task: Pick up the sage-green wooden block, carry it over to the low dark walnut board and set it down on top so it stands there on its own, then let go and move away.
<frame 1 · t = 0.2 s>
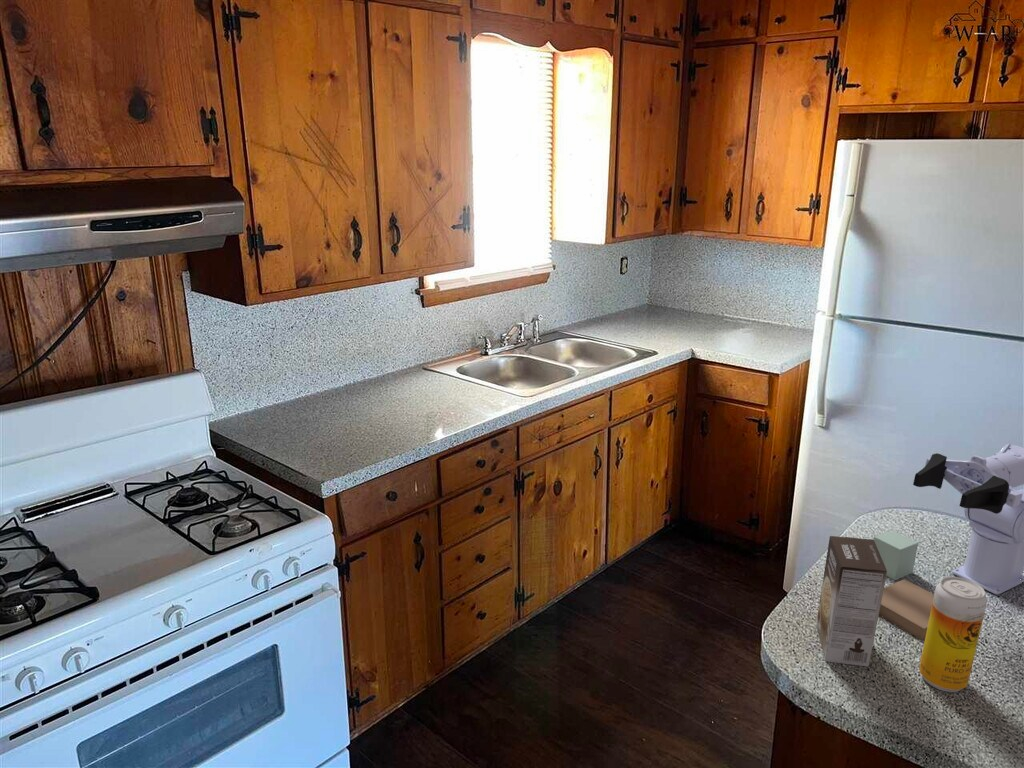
hand: (939, 490, 118), 21 cm above the countertop, tool horizontal, fingers open, 7 cm apart
beer can: (942, 681, 108), on the countertop
sage block: (890, 569, 136), on the countertop
coffee box: (841, 647, 115), on the countertop
walnut board: (911, 616, 124), on the countertop
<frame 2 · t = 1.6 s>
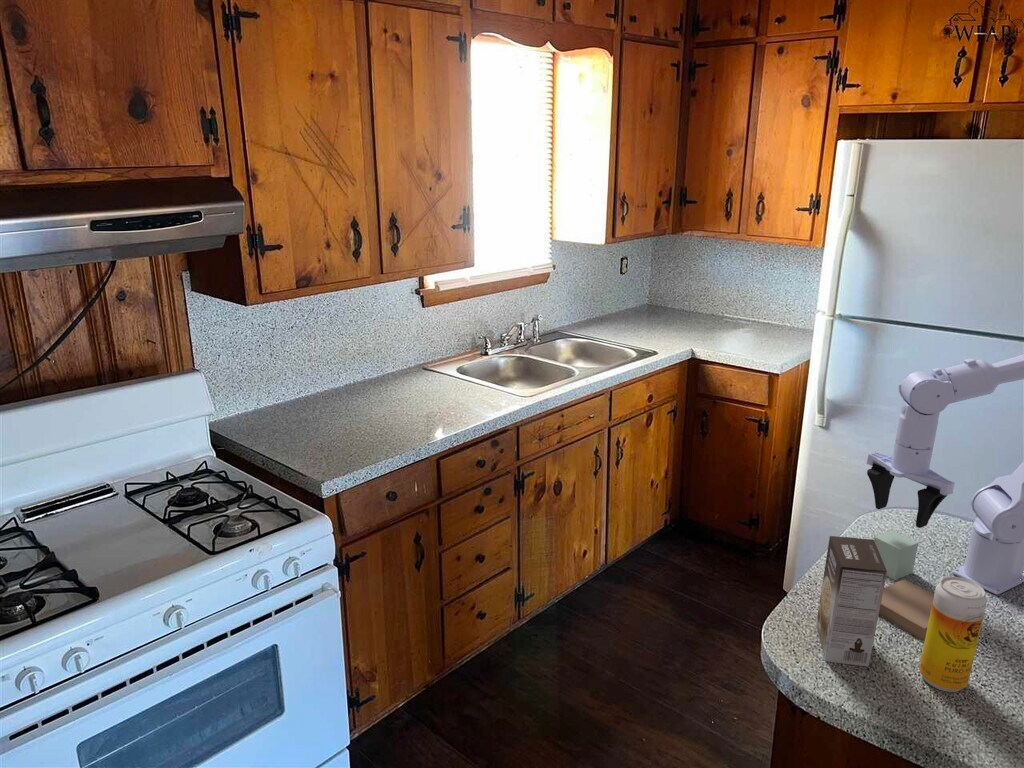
hand: (900, 516, 133), 10 cm above the countertop, tool pointing down, fingers open, 7 cm apart
nothing on the countertop moved.
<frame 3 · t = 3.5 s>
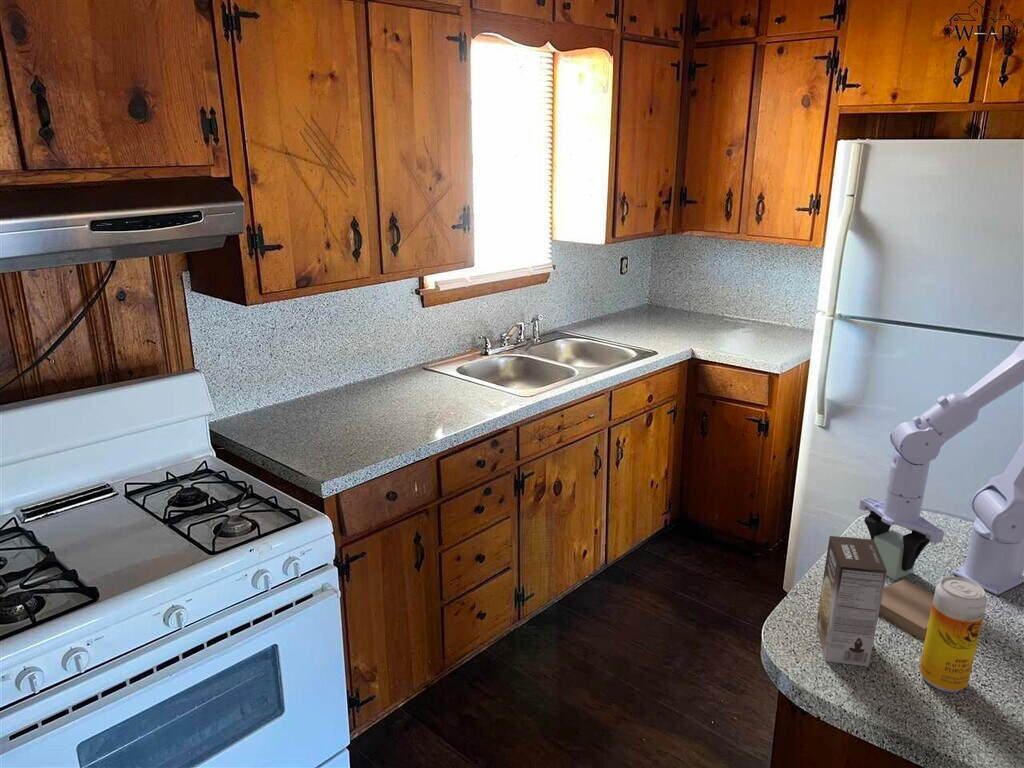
hand: (892, 561, 135), 2 cm above the countertop, tool pointing down, fingers closed on sage block, 5 cm apart
sage block: (890, 569, 136), on the countertop, touching gripper
everything else where it was.
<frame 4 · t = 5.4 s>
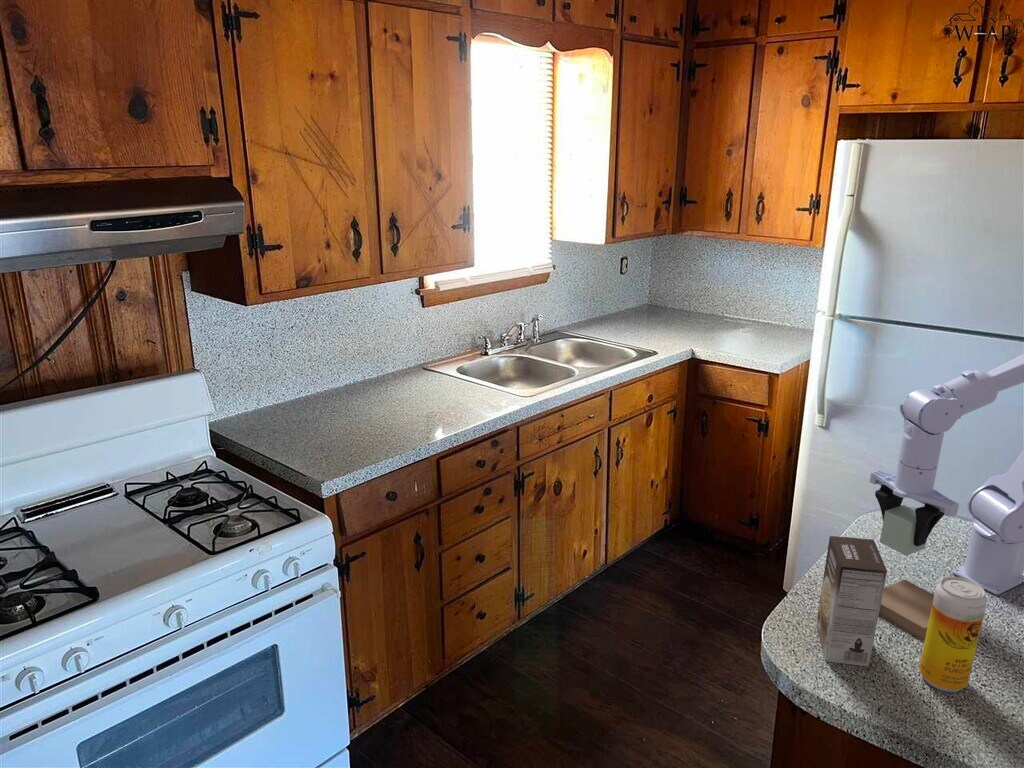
hand: (903, 536, 130), 8 cm above the countertop, tool pointing down, fingers closed on sage block, 5 cm apart
sage block: (902, 545, 131), point 7 cm above the countertop, touching gripper
everything else where it was.
when the fingers open (5 cm above the countertop, at t = 7.8 s): sage block drops 2 cm, resting on walnut board.
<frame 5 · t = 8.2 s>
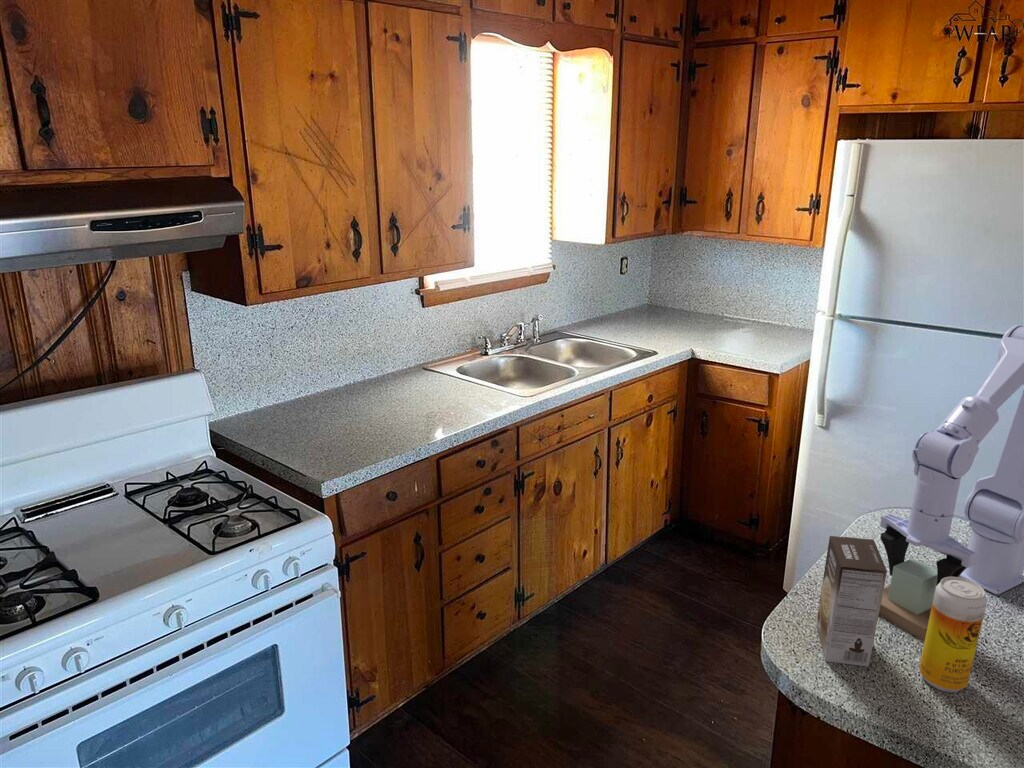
hand: (917, 585, 122), 5 cm above the countertop, tool pointing down, fingers open, 7 cm apart
sage block: (911, 602, 123), point 2 cm above the countertop, touching walnut board
walnut board: (911, 616, 124), on the countertop, touching sage block
everything else where it was.
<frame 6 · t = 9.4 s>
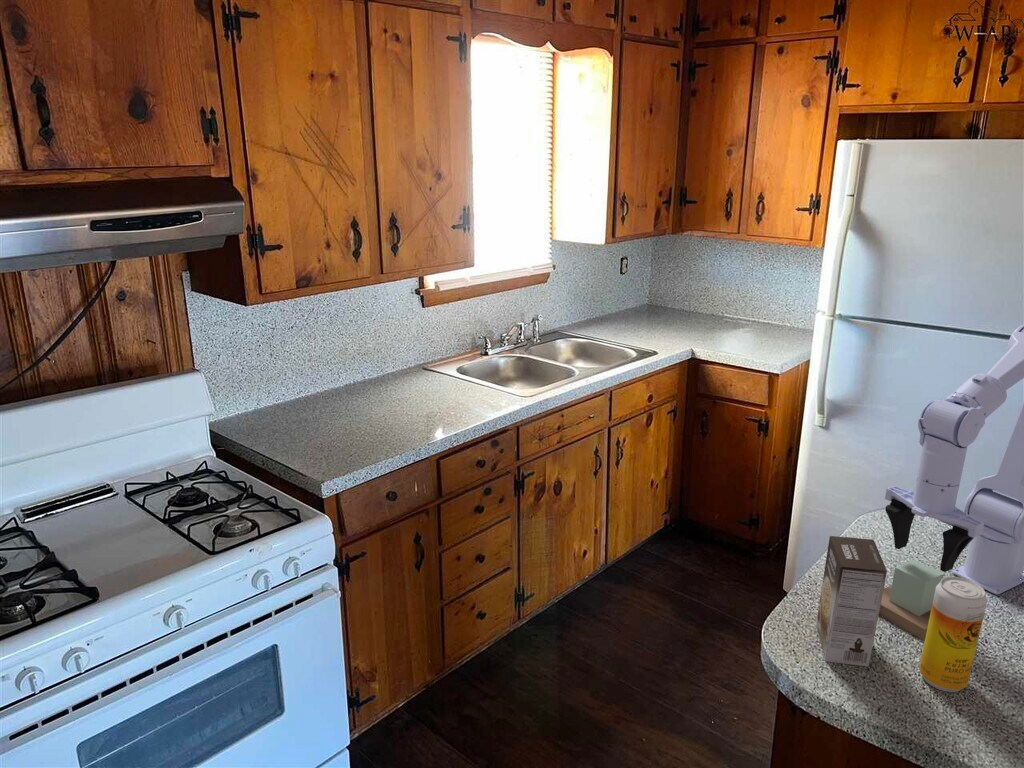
hand: (922, 557, 120), 10 cm above the countertop, tool pointing down, fingers open, 7 cm apart
sage block: (912, 603, 123), point 2 cm above the countertop
walnut board: (911, 616, 124), on the countertop
everything else where it was.
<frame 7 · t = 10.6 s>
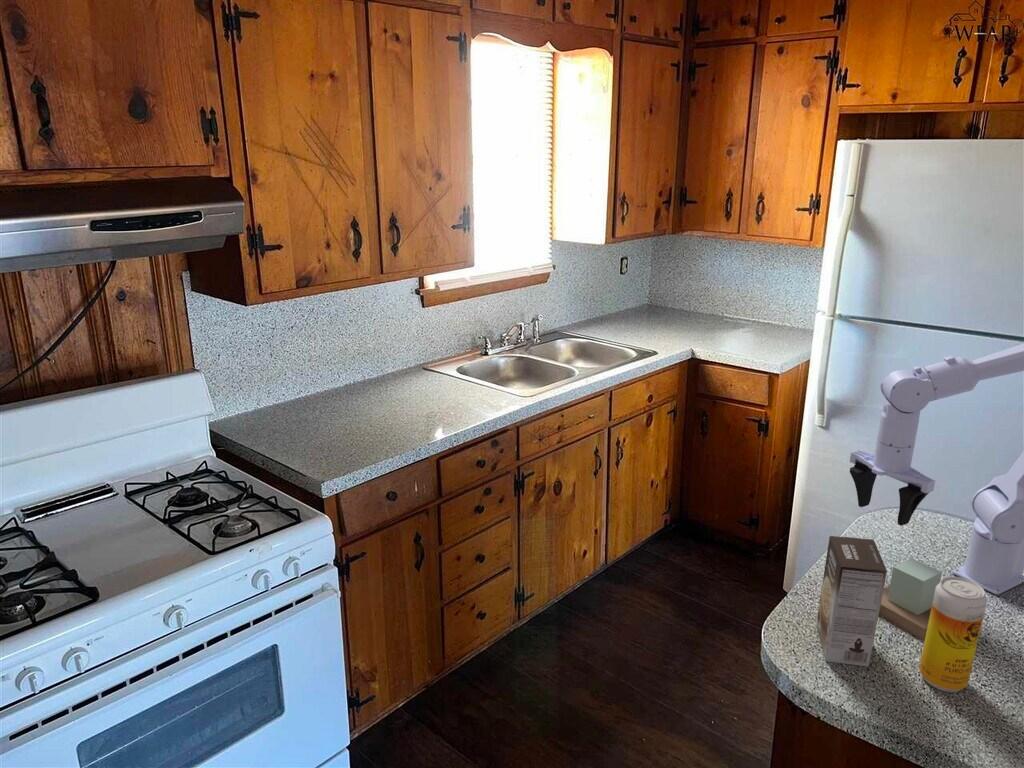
hand: (882, 514, 133), 10 cm above the countertop, tool pointing down, fingers open, 7 cm apart
nothing on the countertop moved.
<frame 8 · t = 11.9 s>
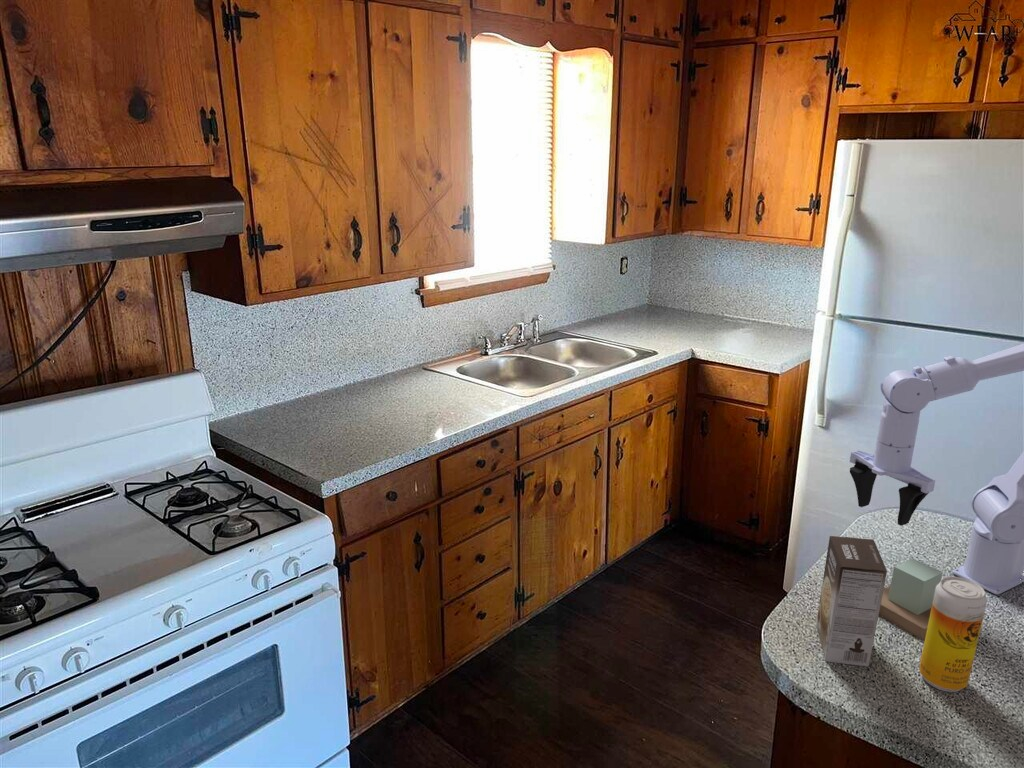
hand: (882, 514, 133), 10 cm above the countertop, tool pointing down, fingers open, 7 cm apart
nothing on the countertop moved.
at the end: sage block 0.3 cm off-centre on the walnut board, point 2.5 cm above the walnut board's base; sage block tilted 0°; the gripper is holding nothing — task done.
